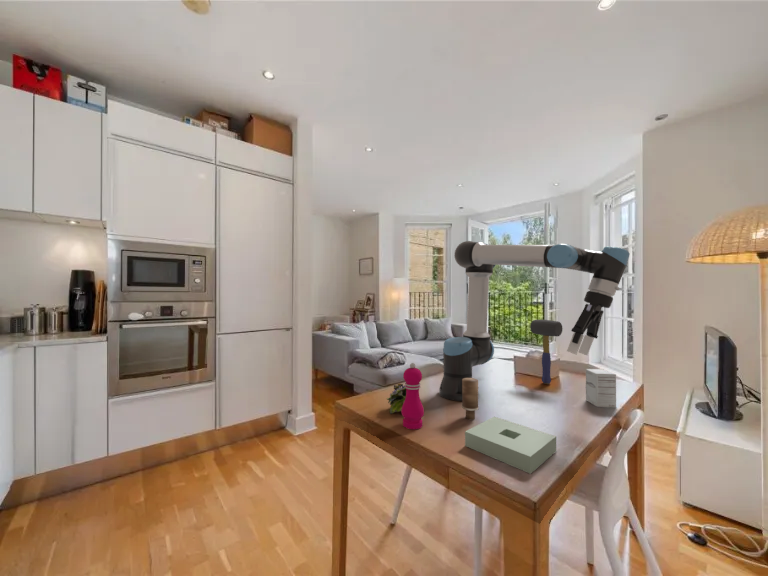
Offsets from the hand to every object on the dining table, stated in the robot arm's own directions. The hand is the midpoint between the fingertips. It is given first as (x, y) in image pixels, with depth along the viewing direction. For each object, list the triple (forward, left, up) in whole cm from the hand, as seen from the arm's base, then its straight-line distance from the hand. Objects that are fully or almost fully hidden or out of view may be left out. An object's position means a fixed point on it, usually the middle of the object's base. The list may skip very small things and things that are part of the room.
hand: (577, 353), depth 106 cm
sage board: (-6, -35, -22) cm, 42 cm away
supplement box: (+1, +24, -23) cm, 33 cm away
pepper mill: (-34, -44, -23) cm, 60 cm away
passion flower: (-45, -37, -23) cm, 63 cm away
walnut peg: (-25, -25, -22) cm, 42 cm away
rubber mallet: (-24, +37, -23) cm, 49 cm away
